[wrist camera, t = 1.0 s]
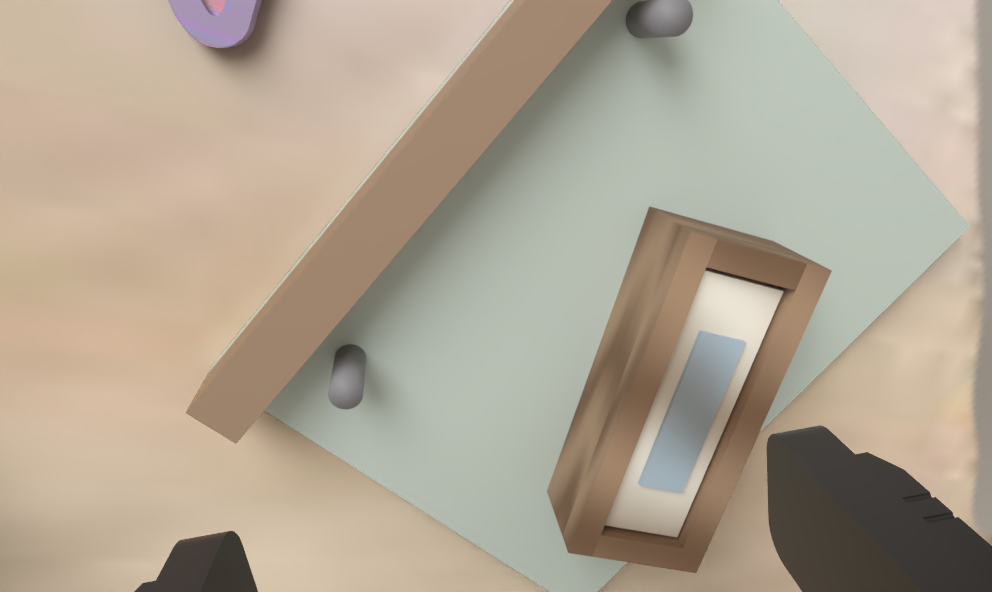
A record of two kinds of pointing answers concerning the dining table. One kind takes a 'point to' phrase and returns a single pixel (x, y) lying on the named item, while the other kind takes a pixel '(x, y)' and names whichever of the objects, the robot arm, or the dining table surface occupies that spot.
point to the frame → (679, 390)
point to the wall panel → (566, 249)
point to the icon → (217, 20)
